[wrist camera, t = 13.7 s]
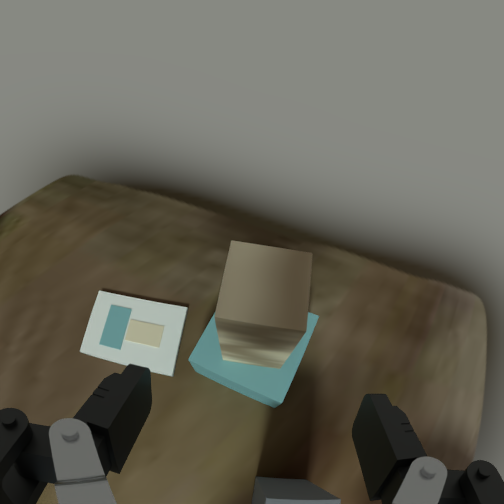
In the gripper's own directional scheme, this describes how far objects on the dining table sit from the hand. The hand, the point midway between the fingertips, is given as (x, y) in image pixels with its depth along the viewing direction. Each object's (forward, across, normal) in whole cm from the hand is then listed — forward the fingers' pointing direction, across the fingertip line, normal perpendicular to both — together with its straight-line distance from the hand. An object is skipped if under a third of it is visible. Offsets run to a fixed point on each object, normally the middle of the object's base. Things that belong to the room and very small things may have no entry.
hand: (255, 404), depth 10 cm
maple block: (+14, 0, +4) cm, 14 cm away
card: (+17, +12, +8) cm, 22 cm away
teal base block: (+17, 0, +8) cm, 19 cm away
